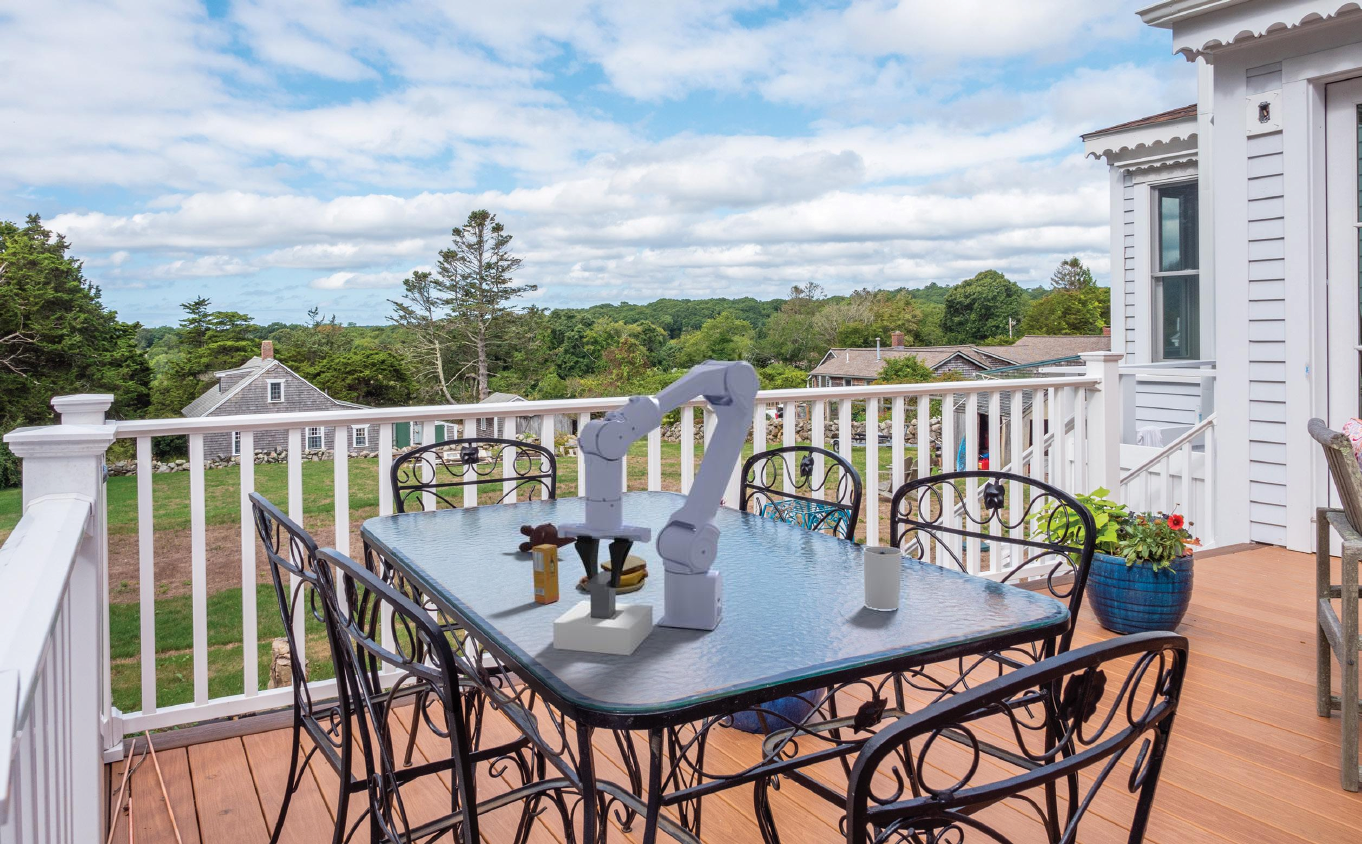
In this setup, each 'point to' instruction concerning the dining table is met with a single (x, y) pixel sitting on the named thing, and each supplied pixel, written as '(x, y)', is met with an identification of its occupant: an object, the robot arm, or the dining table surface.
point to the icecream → (543, 537)
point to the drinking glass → (882, 576)
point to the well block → (603, 629)
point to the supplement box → (545, 573)
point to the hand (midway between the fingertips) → (604, 585)
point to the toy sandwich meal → (626, 574)
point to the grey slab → (602, 596)
